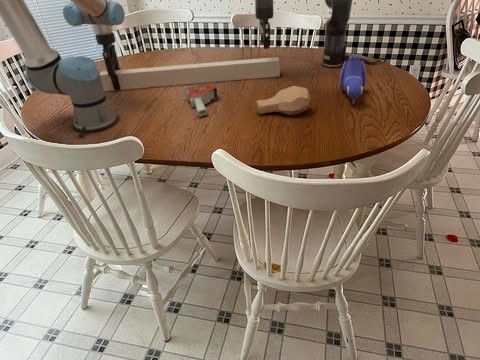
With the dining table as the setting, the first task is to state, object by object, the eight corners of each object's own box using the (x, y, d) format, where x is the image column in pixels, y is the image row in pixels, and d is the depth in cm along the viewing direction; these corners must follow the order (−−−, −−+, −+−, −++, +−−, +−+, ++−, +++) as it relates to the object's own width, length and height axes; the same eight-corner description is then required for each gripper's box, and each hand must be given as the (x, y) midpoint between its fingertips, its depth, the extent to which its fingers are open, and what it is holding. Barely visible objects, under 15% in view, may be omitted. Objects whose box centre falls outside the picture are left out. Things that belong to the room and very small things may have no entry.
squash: (314, 116, 128) (313, 95, 122) (259, 125, 130) (256, 105, 124) (308, 99, 136) (307, 78, 129) (257, 108, 138) (253, 88, 131)
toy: (338, 94, 152) (340, 108, 129) (340, 53, 145) (343, 60, 123) (362, 94, 149) (368, 108, 127) (365, 52, 143) (373, 58, 120)
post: (103, 91, 159) (98, 75, 154) (105, 87, 163) (101, 71, 158) (279, 76, 162) (280, 60, 158) (277, 72, 166) (277, 56, 162)
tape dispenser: (202, 122, 132) (232, 99, 144) (201, 109, 128) (231, 87, 141) (166, 111, 139) (197, 89, 152) (164, 98, 136) (196, 78, 148)
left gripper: (108, 38, 140) (123, 94, 153) (117, 27, 154) (130, 79, 168) (89, 39, 139) (105, 95, 153) (99, 28, 154) (114, 80, 168)
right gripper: (276, 8, 141) (276, 49, 150) (270, 1, 152) (270, 40, 162) (257, 9, 141) (258, 51, 150) (253, 3, 152) (254, 42, 162)
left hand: (118, 86), depth 161 cm, fingers closed on post, 5 cm apart
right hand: (264, 45), depth 156 cm, fingers open, 8 cm apart
